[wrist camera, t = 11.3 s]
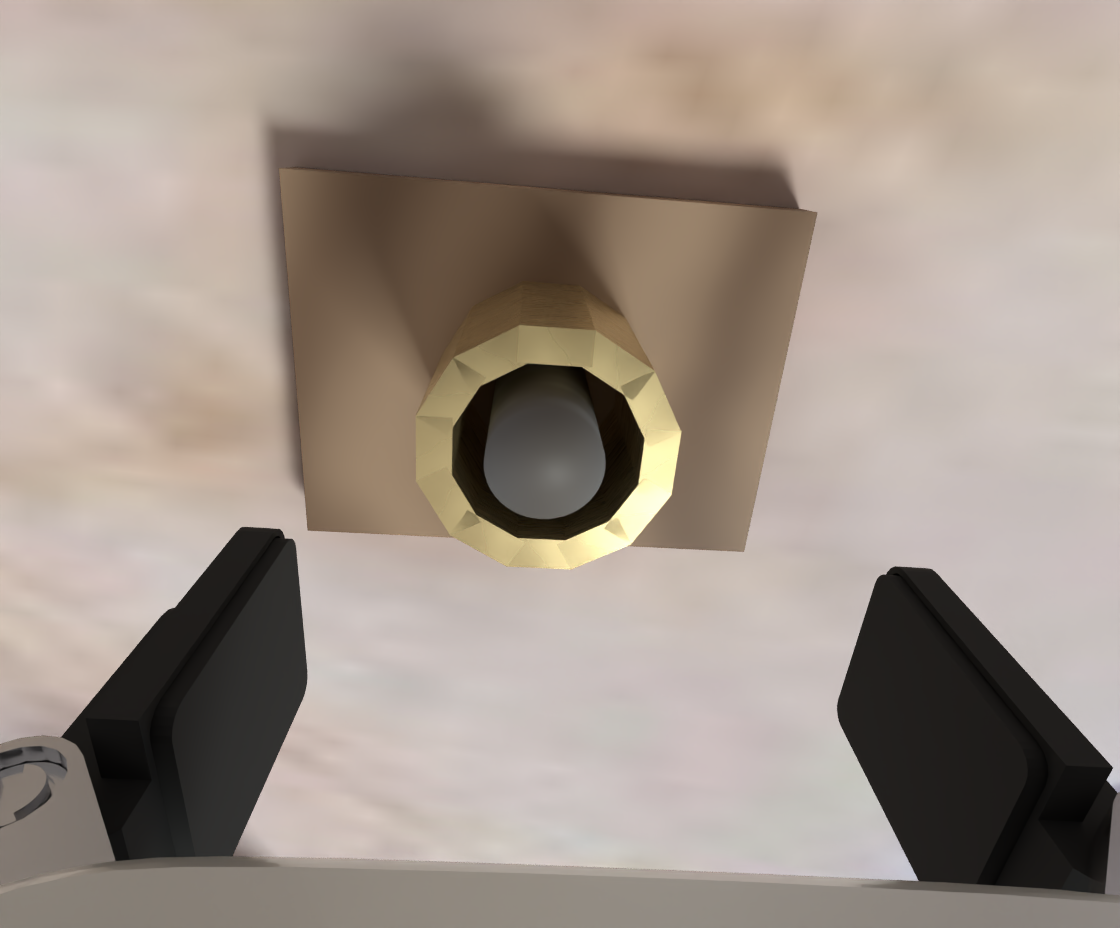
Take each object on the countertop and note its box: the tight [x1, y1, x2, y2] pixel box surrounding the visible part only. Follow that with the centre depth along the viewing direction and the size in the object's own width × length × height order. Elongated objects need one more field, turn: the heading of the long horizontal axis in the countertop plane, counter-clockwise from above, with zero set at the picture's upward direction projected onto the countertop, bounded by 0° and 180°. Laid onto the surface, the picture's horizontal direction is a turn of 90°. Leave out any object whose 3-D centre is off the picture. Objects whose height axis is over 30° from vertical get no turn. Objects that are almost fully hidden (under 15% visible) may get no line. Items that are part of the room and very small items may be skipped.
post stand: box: [279, 167, 817, 552], centre depth 21 cm, size 16×12×8 cm
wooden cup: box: [415, 281, 682, 569], centre depth 20 cm, size 7×7×6 cm
